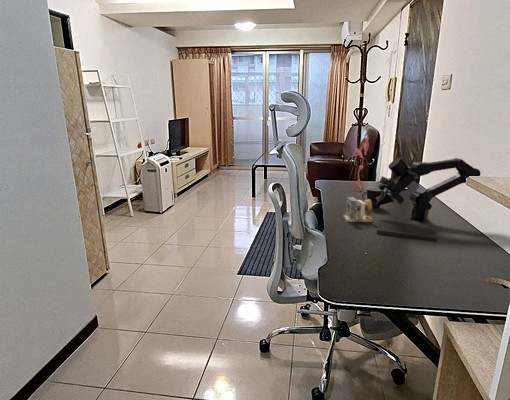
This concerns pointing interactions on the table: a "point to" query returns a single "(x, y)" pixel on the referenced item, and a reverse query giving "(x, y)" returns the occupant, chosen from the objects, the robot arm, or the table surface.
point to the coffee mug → (373, 195)
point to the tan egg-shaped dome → (367, 207)
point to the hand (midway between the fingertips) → (376, 205)
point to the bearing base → (366, 219)
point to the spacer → (361, 209)
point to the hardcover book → (407, 230)
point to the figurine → (362, 161)
